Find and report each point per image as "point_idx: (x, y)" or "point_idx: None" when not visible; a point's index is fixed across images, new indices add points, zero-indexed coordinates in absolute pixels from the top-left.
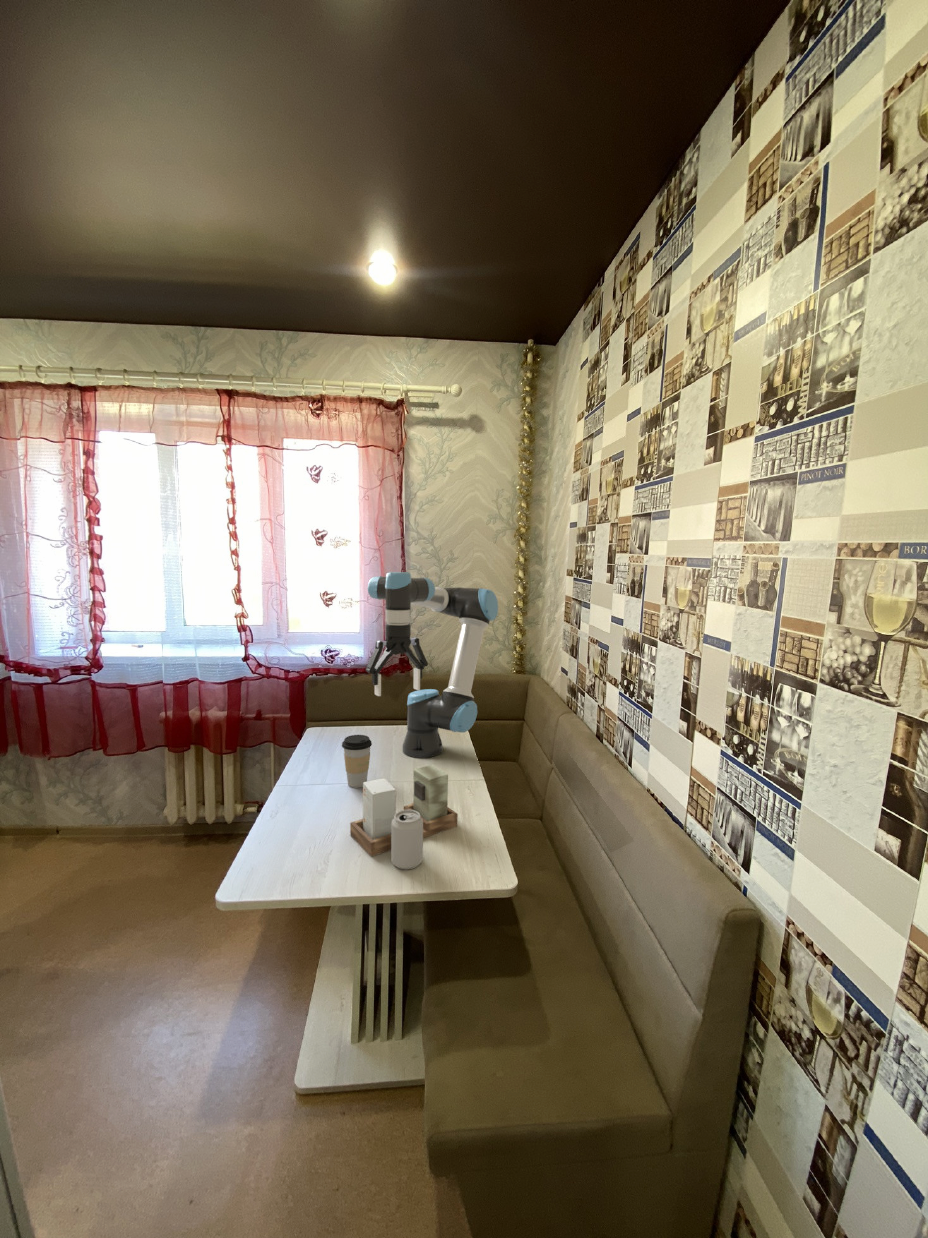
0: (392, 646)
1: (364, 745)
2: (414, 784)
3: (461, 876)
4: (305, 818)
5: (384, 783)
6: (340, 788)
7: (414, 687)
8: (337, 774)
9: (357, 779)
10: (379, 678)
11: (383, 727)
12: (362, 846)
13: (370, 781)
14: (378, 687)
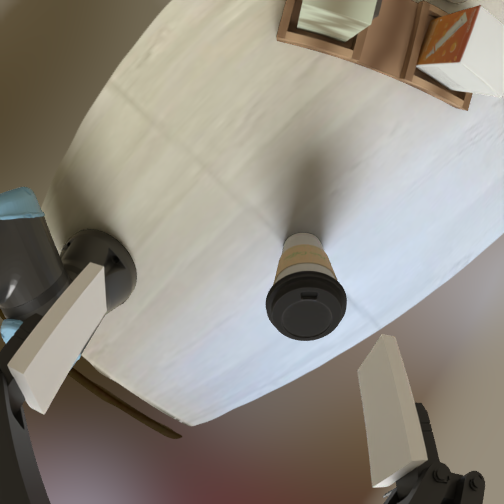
0: None
1: (312, 280)
2: (376, 16)
3: None
4: (453, 215)
5: (480, 45)
6: (338, 258)
7: (102, 307)
8: None
9: (318, 244)
10: (418, 434)
11: (109, 371)
12: None
13: (492, 83)
14: (406, 382)
